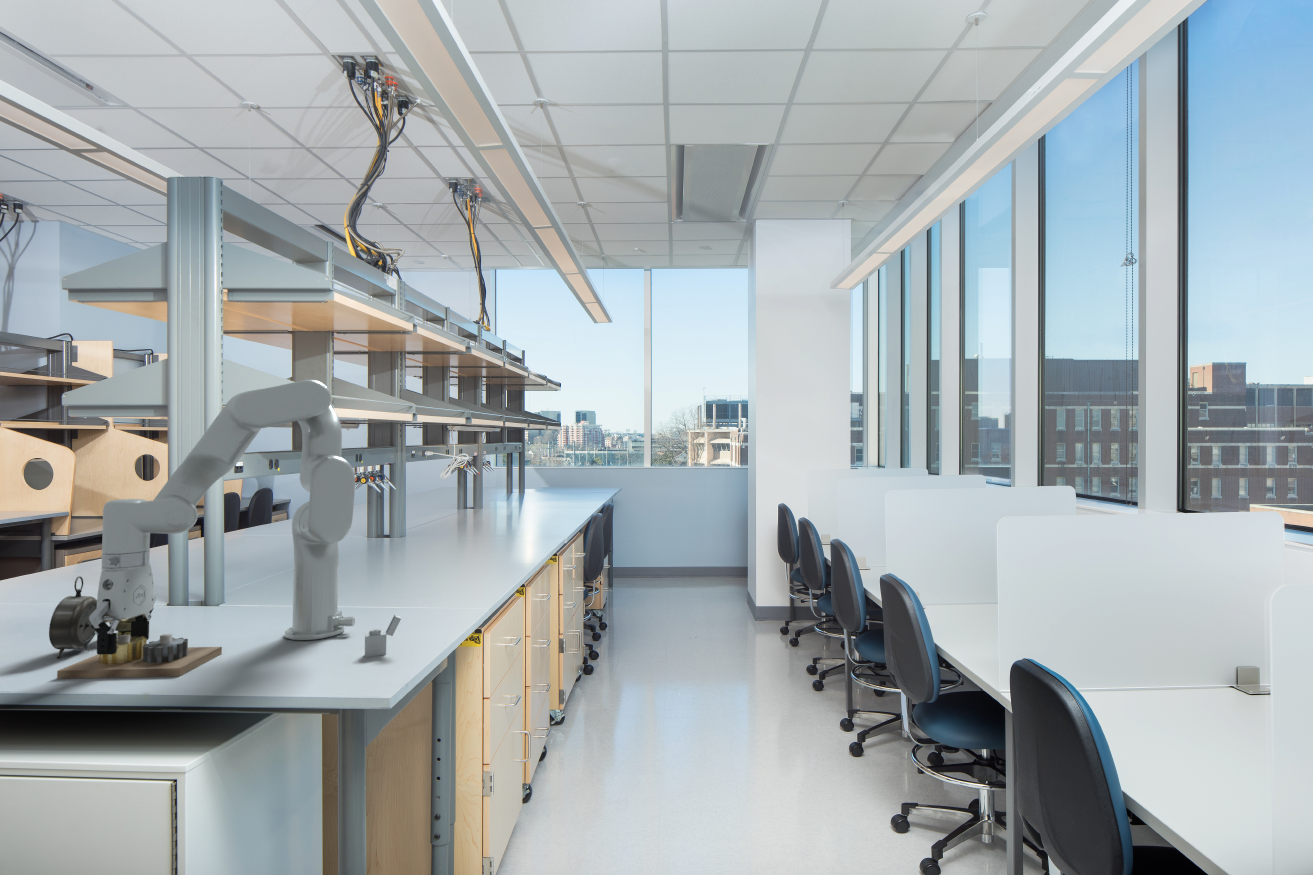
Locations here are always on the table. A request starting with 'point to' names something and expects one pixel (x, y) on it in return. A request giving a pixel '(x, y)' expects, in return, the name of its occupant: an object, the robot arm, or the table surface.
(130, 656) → the brass gear
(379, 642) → the lighter
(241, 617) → the table surface
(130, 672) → the gear board
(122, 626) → the cup
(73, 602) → the alarm clock
